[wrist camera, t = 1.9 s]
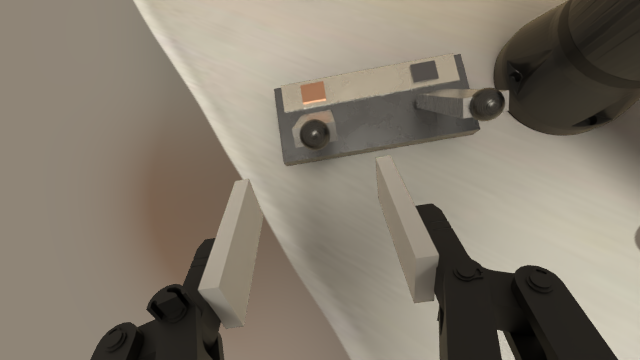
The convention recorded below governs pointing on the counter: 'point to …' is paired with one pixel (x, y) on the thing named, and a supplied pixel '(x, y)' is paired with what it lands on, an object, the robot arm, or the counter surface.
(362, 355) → the counter surface
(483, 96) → the inner lever
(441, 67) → the switch base
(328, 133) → the outer lever
